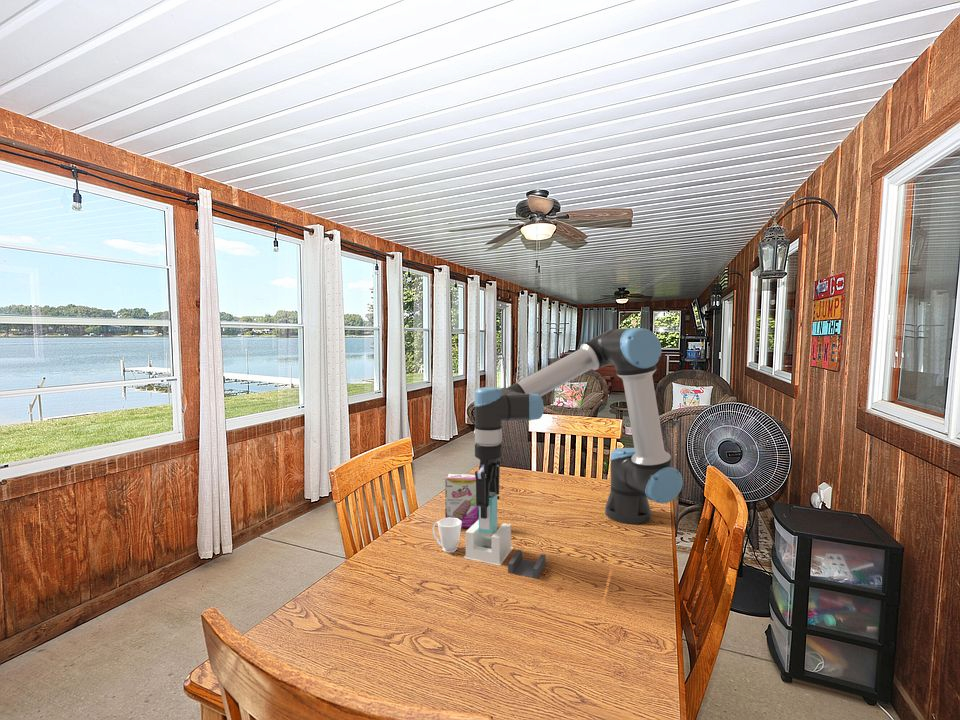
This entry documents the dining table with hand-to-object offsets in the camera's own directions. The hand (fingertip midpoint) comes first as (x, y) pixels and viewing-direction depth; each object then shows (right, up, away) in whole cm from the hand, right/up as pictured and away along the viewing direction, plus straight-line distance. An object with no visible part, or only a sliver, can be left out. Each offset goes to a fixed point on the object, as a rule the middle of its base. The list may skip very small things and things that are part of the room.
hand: (488, 525), depth 123 cm
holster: (+10, -9, -8) cm, 16 cm away
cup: (-12, -9, +5) cm, 16 cm away
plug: (0, -2, 0) cm, 2 cm away
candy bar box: (-8, -8, +20) cm, 23 cm away
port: (0, -8, 0) cm, 8 cm away
